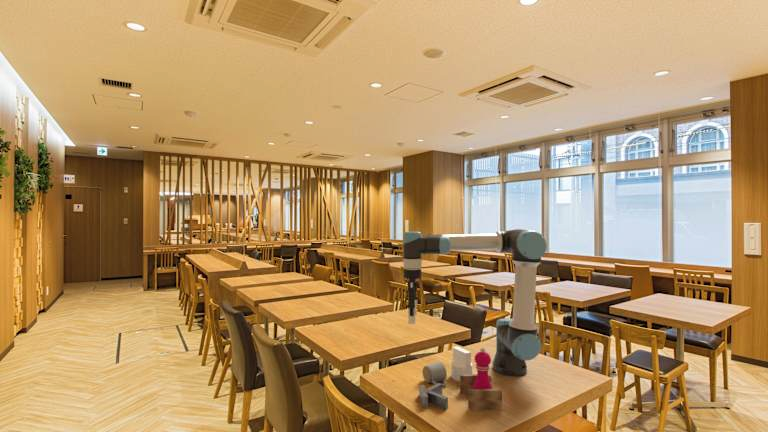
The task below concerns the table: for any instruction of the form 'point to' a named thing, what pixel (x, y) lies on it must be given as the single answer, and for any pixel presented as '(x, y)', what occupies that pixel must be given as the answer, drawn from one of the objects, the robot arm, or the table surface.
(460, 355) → the base with upright slab
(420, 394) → the letter k block
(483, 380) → the pepper mill
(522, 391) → the table surface
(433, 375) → the ceramic mug
